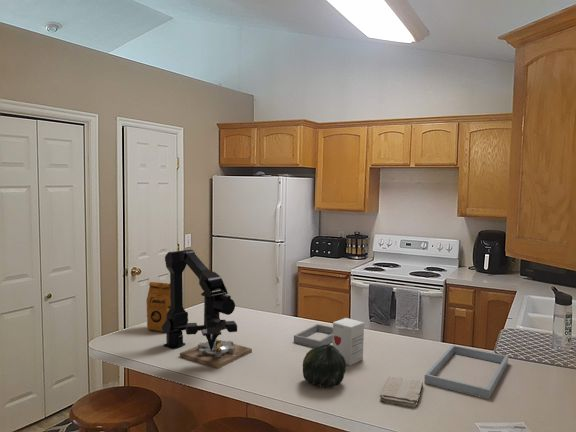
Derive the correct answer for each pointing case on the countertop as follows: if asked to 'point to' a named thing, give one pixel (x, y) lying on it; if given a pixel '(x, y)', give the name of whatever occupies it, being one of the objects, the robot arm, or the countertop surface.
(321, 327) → the grey frame
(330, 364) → the squash
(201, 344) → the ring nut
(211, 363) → the walnut base
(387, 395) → the washcloth
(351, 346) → the supplement box
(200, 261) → the robot arm
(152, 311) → the coffee package
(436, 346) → the countertop surface
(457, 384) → the slate carton frame
